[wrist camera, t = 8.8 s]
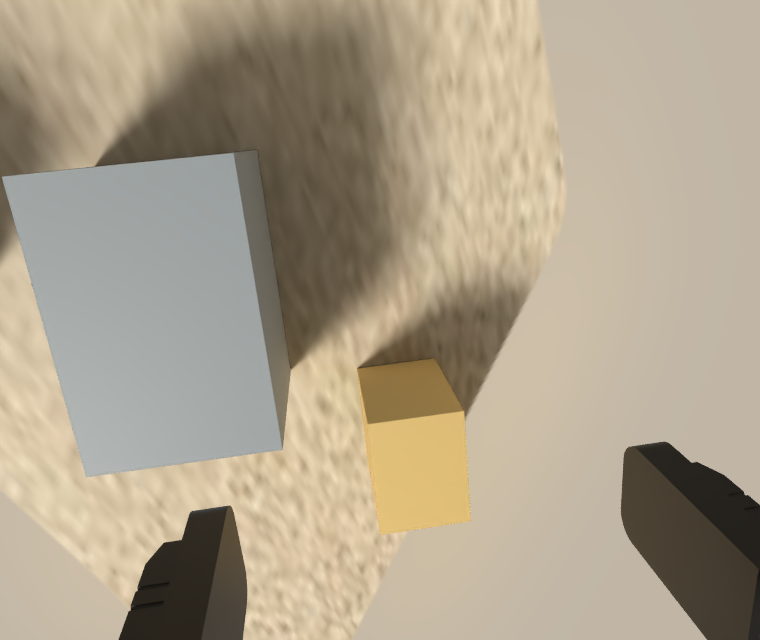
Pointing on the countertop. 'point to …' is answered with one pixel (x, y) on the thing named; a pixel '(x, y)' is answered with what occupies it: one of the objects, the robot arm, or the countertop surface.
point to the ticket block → (158, 307)
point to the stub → (414, 446)
